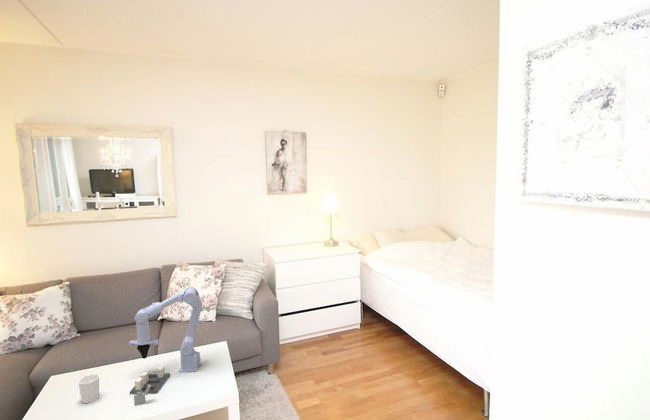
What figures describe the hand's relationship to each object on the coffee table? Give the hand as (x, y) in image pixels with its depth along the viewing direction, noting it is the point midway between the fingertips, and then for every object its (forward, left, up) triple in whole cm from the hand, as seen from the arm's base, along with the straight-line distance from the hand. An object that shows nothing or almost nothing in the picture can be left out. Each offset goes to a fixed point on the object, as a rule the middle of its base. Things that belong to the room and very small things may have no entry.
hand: (144, 357), depth 175 cm
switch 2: (-3, +8, -9) cm, 12 cm away
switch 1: (-3, +13, -9) cm, 16 cm away
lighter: (-10, +22, -10) cm, 26 cm away
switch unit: (-7, +8, -10) cm, 14 cm away
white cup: (+17, +18, -10) cm, 27 cm away
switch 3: (-9, +3, -9) cm, 13 cm away
